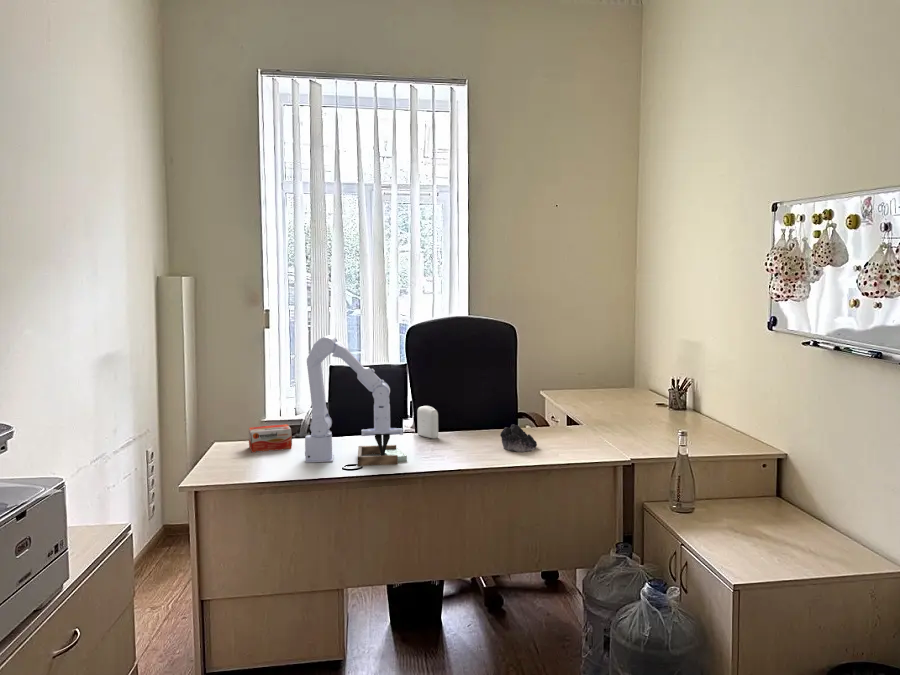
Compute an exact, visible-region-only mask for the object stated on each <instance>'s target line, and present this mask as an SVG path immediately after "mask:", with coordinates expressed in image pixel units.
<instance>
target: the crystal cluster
mask: <svg viewBox="0 0 900 675" xmlns="http://www.w3.org/2000/svg"><path fill="white" fill-rule="evenodd" d="M499 436H500V437H501V443H502V447H503V449H505V450H507V451H514V452H517V453H519V452H520V453H524V452H531V451H532V450H533V451H535V450H536V448H537V446H538V443H537V441H536V440H535V439H534V437H533V436H532V435H531V434H530V433H529V434H528V433H526V432H525V431H524V429H522V427H520V426H519V425H518V424H513V423H512V424H511V425H510V427H507V426H505V427H504V428H503V429H502V431H501V432H500V435H499Z"/></svg>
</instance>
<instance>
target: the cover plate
mask: <svg viewBox="0 0 900 675" xmlns="http://www.w3.org/2000/svg"><path fill="white" fill-rule="evenodd" d="M385 455H398V463H403V462H404V463H405V462H407V461H408V458H407V457H408V455H406V454H405V453H404V452H402V450H400V449H398V448H396V449H388V450H385Z"/></svg>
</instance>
